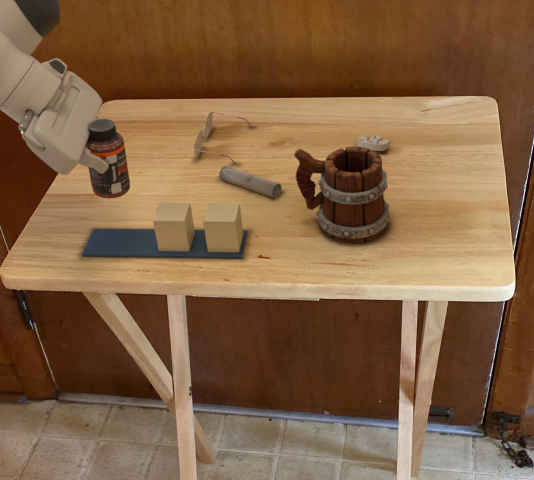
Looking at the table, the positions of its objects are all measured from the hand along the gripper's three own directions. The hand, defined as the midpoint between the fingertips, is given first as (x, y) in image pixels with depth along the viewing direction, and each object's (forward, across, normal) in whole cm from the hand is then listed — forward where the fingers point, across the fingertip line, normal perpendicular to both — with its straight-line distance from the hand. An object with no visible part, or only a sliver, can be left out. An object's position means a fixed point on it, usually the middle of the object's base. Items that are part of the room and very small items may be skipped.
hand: (110, 156), depth 124 cm
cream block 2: (+22, -4, -2) cm, 22 cm away
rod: (+24, +13, -4) cm, 28 cm away
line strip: (+15, -3, +5) cm, 16 cm away
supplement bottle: (+4, 0, +5) cm, 6 cm away
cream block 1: (+16, -3, +4) cm, 17 cm away
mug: (+35, +1, -16) cm, 38 cm away
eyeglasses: (+20, +28, -1) cm, 34 cm away
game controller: (+38, +21, -20) cm, 48 cm away
